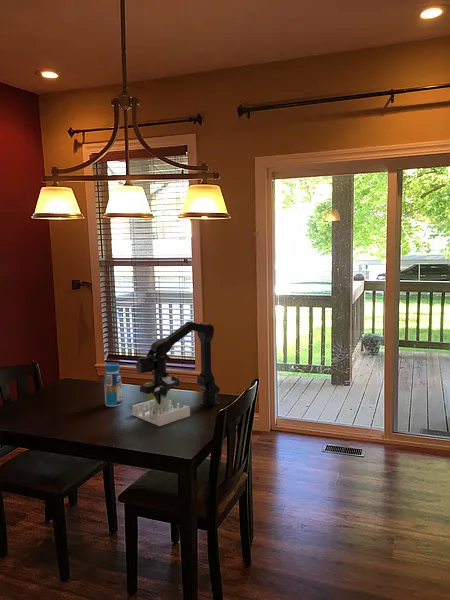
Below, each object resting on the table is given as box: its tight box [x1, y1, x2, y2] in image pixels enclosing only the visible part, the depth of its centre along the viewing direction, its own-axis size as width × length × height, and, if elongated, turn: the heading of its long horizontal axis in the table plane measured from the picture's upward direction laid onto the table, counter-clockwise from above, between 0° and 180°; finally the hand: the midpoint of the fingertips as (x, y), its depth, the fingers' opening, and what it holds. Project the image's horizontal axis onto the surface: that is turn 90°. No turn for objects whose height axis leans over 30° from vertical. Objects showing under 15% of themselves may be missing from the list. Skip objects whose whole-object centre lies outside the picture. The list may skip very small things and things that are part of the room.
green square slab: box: [154, 395, 169, 414], centre depth 215 cm, size 2×8×8 cm, turn 45°
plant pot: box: [143, 381, 154, 401], centre depth 236 cm, size 9×9×9 cm
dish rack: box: [132, 399, 191, 427], centre depth 216 cm, size 17×20×4 cm
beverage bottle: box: [103, 362, 123, 408], centre depth 232 cm, size 8×8×20 cm
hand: (161, 403), depth 216 cm, fingers closed on green square slab, 2 cm apart
